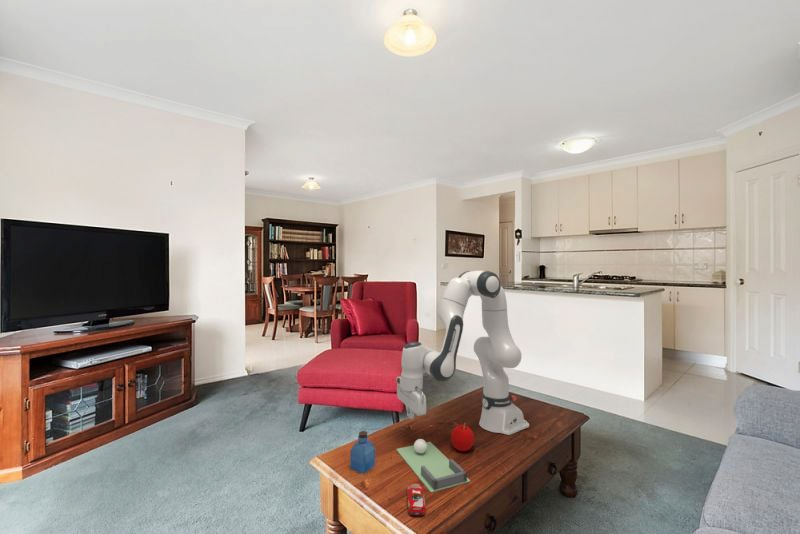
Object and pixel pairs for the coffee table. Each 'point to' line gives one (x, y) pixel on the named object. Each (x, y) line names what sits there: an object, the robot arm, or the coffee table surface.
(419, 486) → the race car
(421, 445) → the ball
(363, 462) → the perfume bottle
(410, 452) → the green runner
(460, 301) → the robot arm
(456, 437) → the fruit
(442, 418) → the coffee table surface
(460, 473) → the gray u-shaped frame
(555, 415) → the coffee table surface
